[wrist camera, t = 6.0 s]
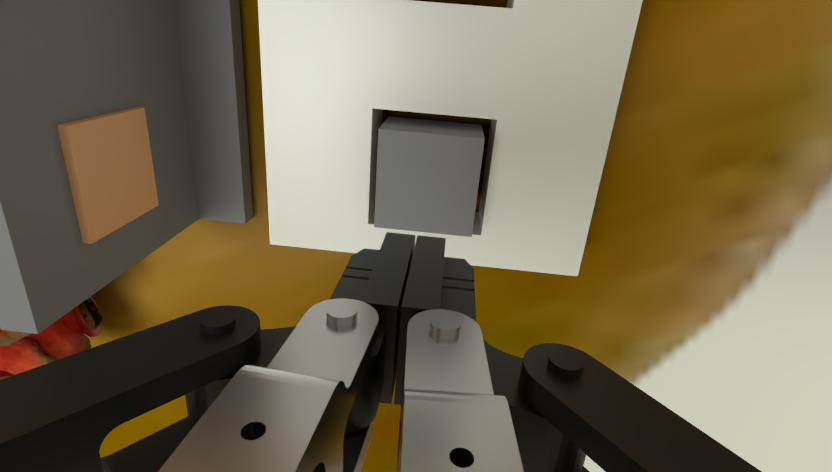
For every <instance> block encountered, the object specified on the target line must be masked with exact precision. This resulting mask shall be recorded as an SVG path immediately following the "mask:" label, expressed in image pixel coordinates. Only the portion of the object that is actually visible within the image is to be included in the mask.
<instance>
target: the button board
mask: <svg viewBox="0 0 832 472" xmlns="http://www.w3.org/2000/svg"><path fill="white" fill-rule="evenodd" d="M642 1H643V0H507V4H506V8H502V7H489V6H476V5H464V4H451V3H438V2H425V1H413V0H258V16H259V36H260V56H261V76H262V96H263V116H264V136H265V155H266V175H267V195H268V215H269V235H270V244H273V245H282V246H292V247H302V248H311V249H321V250H330V251H340V252H349V253H358V252H359V251H361V250H362V249H364V248H365V249H374V250H380V248H381V246H382V243H383V241H384V238H385V235H386V233H387V232H391V233H400V234H410V235H415V244H416V240H417V236H418V235H420V236H430V237H439V238H446V241H445V253H444V257H451V258H460V259H465V260H466V261H467V262H468V263H469V264H470V265H474V266H484V267H493V268H503V269H512V270H522V271H531V272H541V273H551V274H560V275H570V276H578V273H579V269H580V265H581V260H582V256H583V252H584V248H585V243H586V239H587V235H588V231H589V226H590V222H591V218H592V214H593V209H594V205H595V201H596V197H597V192H598V188H599V184H600V180H601V175H602V171H603V167H604V163H605V158H606V154H607V150H608V146H609V142H610V137H611V133H612V129H613V125H614V120H615V116H616V112H617V108H618V103H619V99H620V95H621V91H622V86H623V82H624V78H625V74H626V69H627V65H628V61H629V57H630V52H631V48H632V44H633V40H634V35H635V31H636V27H637V23H638V18H639V14H640V10H641V6H642ZM383 109H384V110H395V111H406V112H417V113H428V114H439V115H451V116H462V117H473V118H484V119H491V123H490V130H489V138H488V145H487V153H486V160H485V168H484V175H483V182H482V190H481V197H480V205H479V212H476V211H475V216H474V224H473V232H472V237H466V236H456V235H447V234H437V233H427V232H417V231H407V230H397V229H388V228H378V227H374V218H375V195H376V172H377V149H378V129H379V128H380V126H381V125H382V116H383Z"/></svg>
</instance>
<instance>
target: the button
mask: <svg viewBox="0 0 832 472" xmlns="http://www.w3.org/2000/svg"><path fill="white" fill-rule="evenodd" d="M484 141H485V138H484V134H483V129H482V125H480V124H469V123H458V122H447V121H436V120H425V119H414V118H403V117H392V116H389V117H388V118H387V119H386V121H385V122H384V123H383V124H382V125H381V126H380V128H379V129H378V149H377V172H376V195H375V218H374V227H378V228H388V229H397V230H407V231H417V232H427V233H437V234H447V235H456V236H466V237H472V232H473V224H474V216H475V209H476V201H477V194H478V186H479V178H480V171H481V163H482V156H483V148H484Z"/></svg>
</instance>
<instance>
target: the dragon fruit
mask: <svg viewBox="0 0 832 472" xmlns="http://www.w3.org/2000/svg"><path fill="white" fill-rule="evenodd" d="M88 299H90V300H91V302H88V301H87V300H88ZM88 299H86V300H85V301H84V302H85V304H86V306H87V308H88V310H89V312H90V313H91V315H92V317H93V319H94V321H95V326H94V327H93V326H91V325H89V324H88V323H87V321H86V320H85V318H86V317H87V316H86V315H84V314H83V313H82V312H81V309H80V306H79V305H78V306H76V307H75V308H74V309H72V310H71V311H69V312H68V313H67V314H65V315H64V316H62V317H61V318H60V319H58V320H57V321H55V322H54V323H53V324H51V325H50V326H48V327H47V328H46V329H44V330H43V331H41V332H40V333H39V334H33V333H25V332H16V331H8V330H1V328H0V380H1V379H4V378H7V377H10V376H13V375H16V374H19V373H22V372H24V371H27V370H30V369H33V368H36V367H39V366H42V365H45V364H47V363H50V362H53V361H56V360H59V359H62V358H65V357H68V356H70V355H73V354H76V353H79V352H82V351H85V350H88V349H90V347H91V345H90V341H89V339H88V337H86V336H85V335H83V334H86V335H88V336H90V337H94V336H97V335H98V334H99V333H100V331H101V324H102V316H101V315H100V314H99V313H98V310H99V306H98V304H97V303H96V301H95V298H93V297H92V296H90V297H89V298H88ZM102 326H103V325H102Z"/></svg>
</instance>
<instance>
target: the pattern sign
mask: <svg viewBox="0 0 832 472" xmlns="http://www.w3.org/2000/svg"><path fill="white" fill-rule="evenodd" d="M252 217H253V206H252V191H251V175H250V159H249V144H248V128H247V112H246V97H245V81H244V66H243V50H242V34H241V19H240V3H239V0H0V328H1V330H8V331H16V332H25V333H33V334H39V333H40V332H41V331H43V330H44V329H46V328H47V327H48V326H50V325H51V324H53V323H54V322H55V321H57V320H58V319H60V318H61V317H62V316H64V315H65V314H67V313H68V312H69V311H71V310H72V309H74V308H75V307H76V306H78V305H79V304H81V303H82V302H83V301H85V300H86V299H88V298H89V297H90V296H92V295H93V294H95V293H96V292H97V291H99V290H100V289H102V288H103V287H104V286H106V285H107V284H109V283H110V282H111V281H113V280H114V279H116V278H117V277H118V276H120V275H121V274H123V273H124V272H125V271H127V270H128V269H130V268H131V267H132V266H134V265H135V264H136V263H138V262H139V261H141V260H142V259H143V258H145V257H146V256H148V255H149V254H150V253H152V252H153V251H155V250H156V249H157V248H159V247H160V246H162V245H163V244H164V243H166V242H167V241H169V240H170V239H171V238H173V237H174V236H176V235H177V234H178V233H180V232H181V231H183V230H184V229H185V228H187V227H188V226H190V225H191V224H192V223H194V222H195V221H197V220H198V219H202V220H212V221H222V222H232V223H241V224H246V223H247V222H248V221H249V220H250V219H251V218H252Z"/></svg>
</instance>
